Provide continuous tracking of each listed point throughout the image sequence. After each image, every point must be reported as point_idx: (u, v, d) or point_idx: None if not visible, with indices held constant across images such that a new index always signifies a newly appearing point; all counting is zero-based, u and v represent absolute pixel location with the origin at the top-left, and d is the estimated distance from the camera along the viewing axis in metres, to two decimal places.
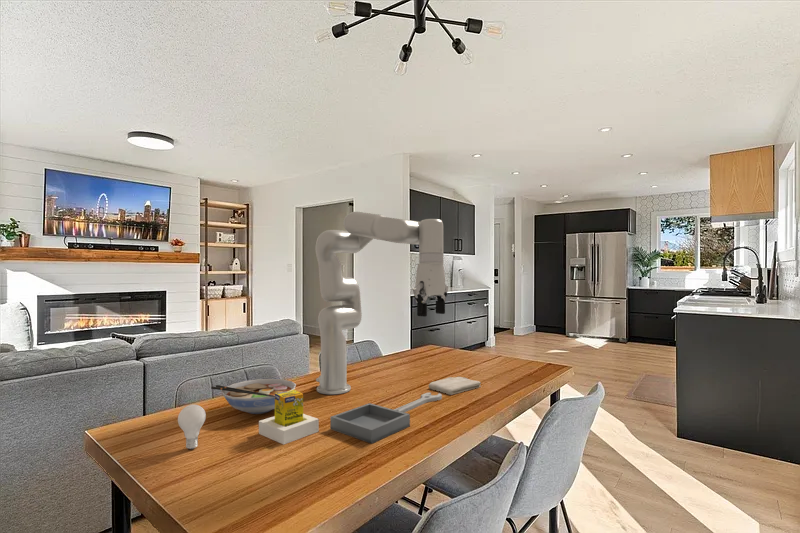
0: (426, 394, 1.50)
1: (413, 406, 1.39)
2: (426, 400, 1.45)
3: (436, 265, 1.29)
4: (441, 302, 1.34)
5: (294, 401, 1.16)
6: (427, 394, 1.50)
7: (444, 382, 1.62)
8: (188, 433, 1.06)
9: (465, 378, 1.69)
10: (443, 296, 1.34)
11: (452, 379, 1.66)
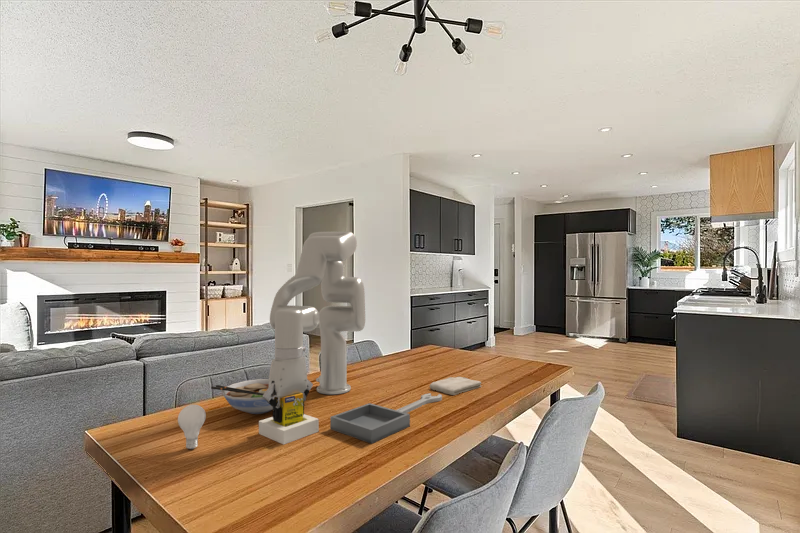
0: (426, 395, 1.49)
1: (414, 407, 1.37)
2: (426, 401, 1.43)
3: (291, 361, 1.16)
4: None
5: (294, 401, 1.16)
6: (427, 395, 1.49)
7: (445, 382, 1.62)
8: (188, 433, 1.06)
9: (465, 378, 1.69)
10: None
11: (453, 379, 1.66)
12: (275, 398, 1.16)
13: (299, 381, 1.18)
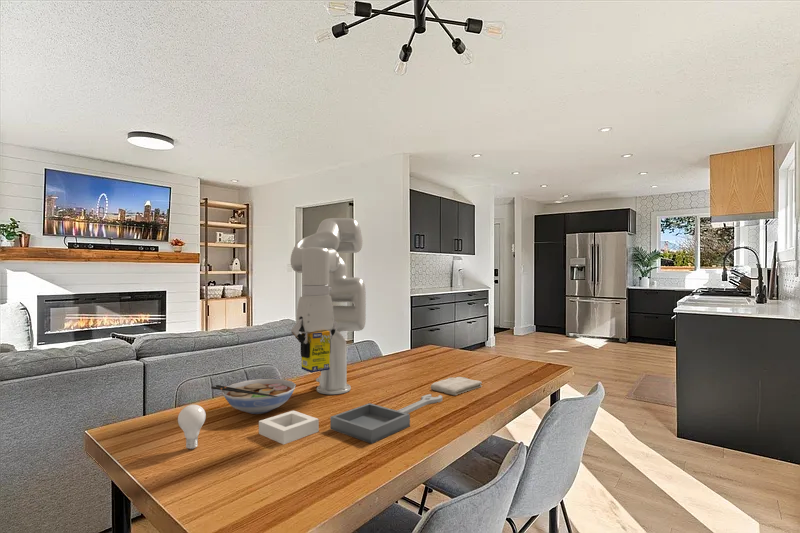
0: (426, 396, 1.48)
1: (413, 408, 1.36)
2: (426, 402, 1.42)
3: (319, 298, 1.17)
4: None
5: (321, 337, 1.17)
6: (427, 396, 1.48)
7: (446, 382, 1.61)
8: (188, 433, 1.06)
9: (465, 378, 1.69)
10: None
11: (453, 379, 1.66)
12: (303, 334, 1.17)
13: (326, 319, 1.19)
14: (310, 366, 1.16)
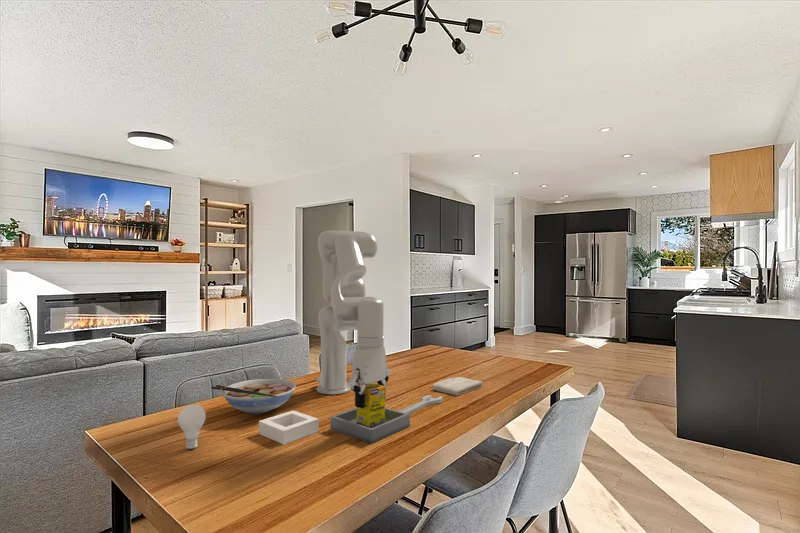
0: (427, 397, 1.47)
1: (414, 409, 1.35)
2: (427, 403, 1.41)
3: (374, 350, 1.19)
4: None
5: (378, 393, 1.20)
6: (428, 397, 1.47)
7: (447, 383, 1.61)
8: (188, 433, 1.06)
9: (466, 378, 1.69)
10: (383, 382, 1.24)
11: (454, 379, 1.65)
12: (357, 385, 1.19)
13: (380, 369, 1.22)
14: (368, 422, 1.18)
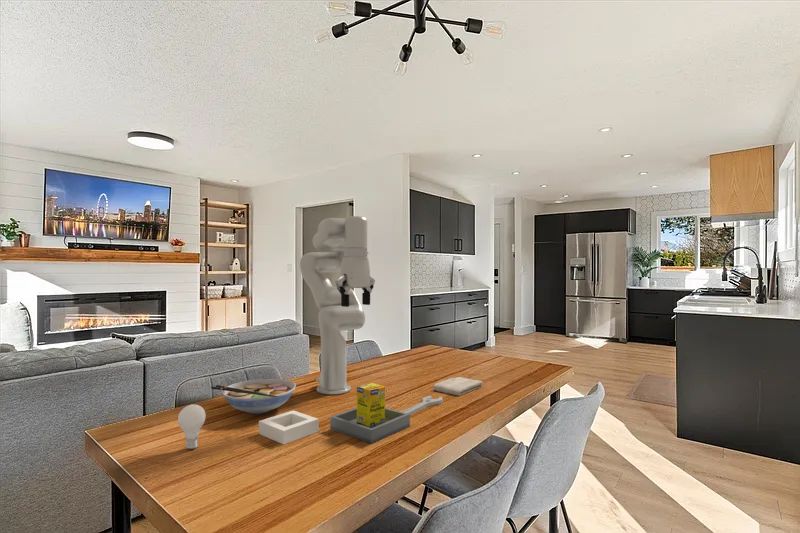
0: (427, 398, 1.46)
1: (414, 410, 1.34)
2: (427, 404, 1.40)
3: (359, 259, 1.39)
4: (367, 294, 1.44)
5: (378, 393, 1.20)
6: (428, 398, 1.46)
7: (448, 383, 1.61)
8: (188, 433, 1.06)
9: (466, 378, 1.69)
10: (368, 288, 1.44)
11: (454, 380, 1.65)
12: (344, 288, 1.38)
13: (364, 277, 1.41)
14: (368, 422, 1.18)
